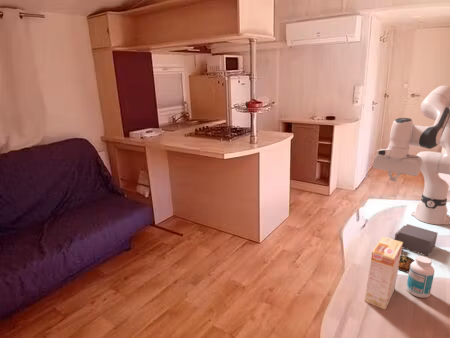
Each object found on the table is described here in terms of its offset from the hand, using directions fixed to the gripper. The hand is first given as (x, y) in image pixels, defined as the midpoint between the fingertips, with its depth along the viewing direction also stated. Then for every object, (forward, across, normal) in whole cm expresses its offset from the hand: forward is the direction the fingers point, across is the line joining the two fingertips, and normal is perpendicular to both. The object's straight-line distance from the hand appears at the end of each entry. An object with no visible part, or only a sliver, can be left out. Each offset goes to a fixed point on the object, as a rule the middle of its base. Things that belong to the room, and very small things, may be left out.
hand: (393, 180), depth 150 cm
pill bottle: (+29, -25, +39) cm, 55 cm away
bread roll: (+30, -16, +23) cm, 41 cm away
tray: (+29, -13, 0) cm, 32 cm away
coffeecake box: (+29, -16, +51) cm, 61 cm away
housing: (+29, -14, 0) cm, 32 cm away
